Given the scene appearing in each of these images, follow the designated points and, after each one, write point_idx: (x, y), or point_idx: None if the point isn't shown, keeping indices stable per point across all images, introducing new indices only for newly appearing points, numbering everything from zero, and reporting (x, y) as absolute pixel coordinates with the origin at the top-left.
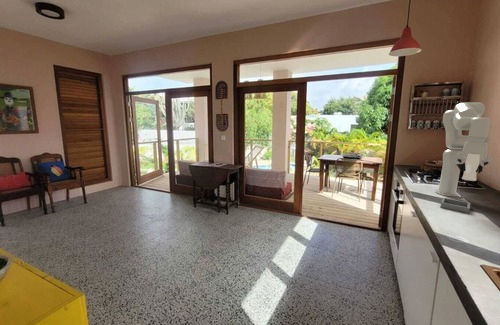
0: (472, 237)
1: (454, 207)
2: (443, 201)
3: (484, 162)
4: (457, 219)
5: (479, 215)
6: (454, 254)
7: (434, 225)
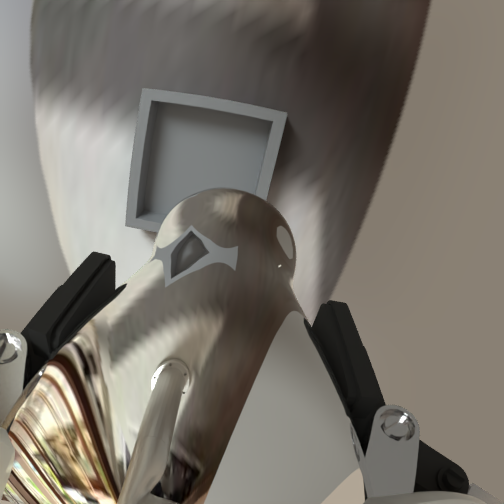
0: None
1: None
2: (136, 190)
3: (421, 486)
4: None
5: (296, 239)
6: None
7: None
